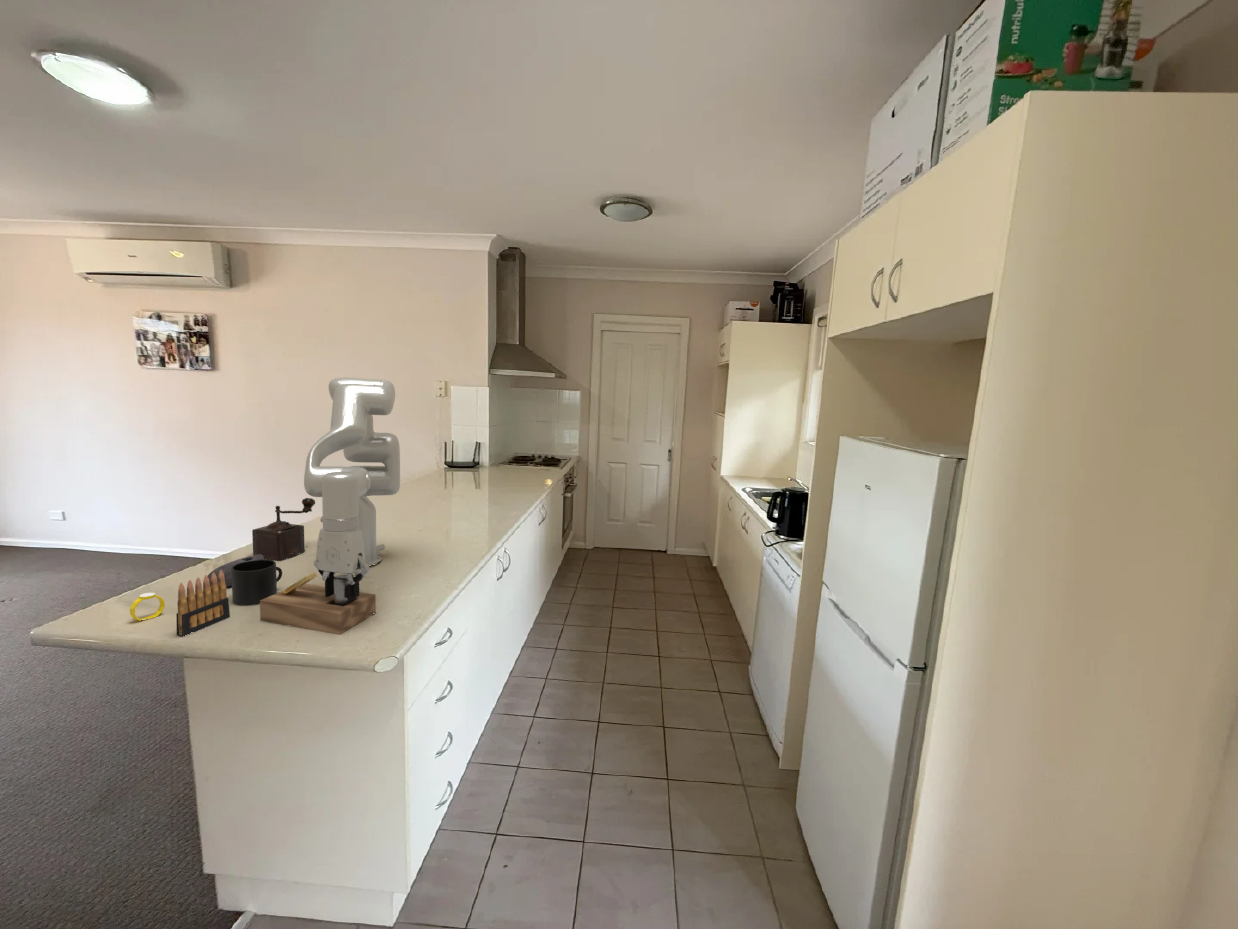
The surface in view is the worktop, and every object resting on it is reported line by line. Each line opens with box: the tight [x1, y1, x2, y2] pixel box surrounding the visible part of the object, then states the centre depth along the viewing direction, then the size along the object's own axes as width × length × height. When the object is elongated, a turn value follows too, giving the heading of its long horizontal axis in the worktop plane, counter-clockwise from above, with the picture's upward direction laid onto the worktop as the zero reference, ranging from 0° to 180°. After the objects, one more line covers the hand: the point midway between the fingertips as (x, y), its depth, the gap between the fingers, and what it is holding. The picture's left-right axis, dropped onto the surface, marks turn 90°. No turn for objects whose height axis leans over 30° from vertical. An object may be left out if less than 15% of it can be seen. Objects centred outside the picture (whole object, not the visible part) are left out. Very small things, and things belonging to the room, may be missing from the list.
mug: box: [231, 559, 283, 606], centre depth 132 cm, size 9×12×9 cm
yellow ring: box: [129, 592, 166, 622], centre depth 117 cm, size 6×3×6 cm, turn 158°
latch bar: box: [282, 572, 318, 595], centre depth 123 cm, size 3×8×1 cm
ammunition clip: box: [176, 570, 231, 638], centre depth 114 cm, size 11×2×12 cm, turn 167°
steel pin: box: [333, 574, 351, 606], centre depth 121 cm, size 4×4×11 cm
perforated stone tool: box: [207, 554, 265, 589], centre depth 139 cm, size 15×5×7 cm, turn 153°
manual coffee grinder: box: [251, 497, 316, 562], centre depth 166 cm, size 16×11×18 cm
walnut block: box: [259, 583, 377, 635], centre depth 122 cm, size 12×22×5 cm, turn 78°
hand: (342, 596), depth 121 cm, fingers open, 5 cm apart
